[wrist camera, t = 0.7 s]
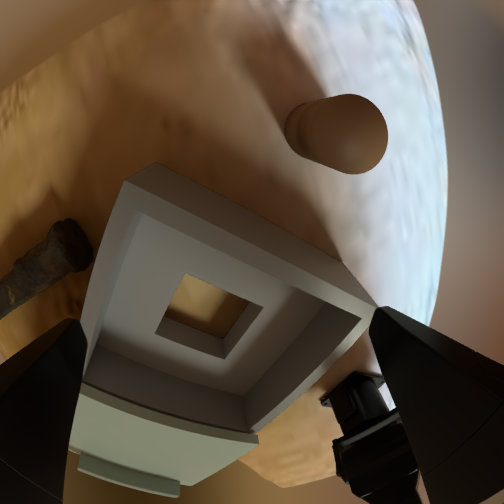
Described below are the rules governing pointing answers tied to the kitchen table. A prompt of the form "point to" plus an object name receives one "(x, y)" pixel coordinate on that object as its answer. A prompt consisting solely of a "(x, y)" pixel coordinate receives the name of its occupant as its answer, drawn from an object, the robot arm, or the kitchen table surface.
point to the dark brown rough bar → (46, 264)
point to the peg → (339, 133)
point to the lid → (148, 445)
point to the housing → (226, 278)
